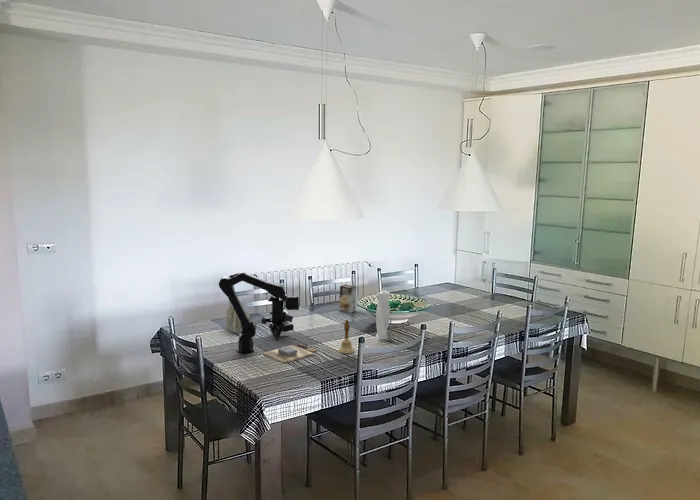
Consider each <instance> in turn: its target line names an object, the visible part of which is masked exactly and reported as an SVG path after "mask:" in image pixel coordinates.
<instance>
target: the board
mask: <svg viewBox="0 0 700 500" xmlns="http://www.w3.org/2000/svg"><path fill="white" fill-rule="evenodd" d="M287 346H288V347H291V348H293V349H296V350H297V354H295V355H292V356H289V357H287V356H284V355H282V354H280V353H278V349H280V348H284V347H287ZM287 346H283V347H279V348H275V349H273V350H269V351H265V352H263V355H264V356H266V357H268V358H271V359H273V360H275V361H278V362H280V363H282V364H287V363H291V362H294V361H297V360H300V359H304V358H307V357H310V356H313V355H314V352H310V351H308V350H306V349H305V348H301V347H300V346H299V347H298V346H296V345H294V344H290V345H287Z"/></svg>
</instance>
